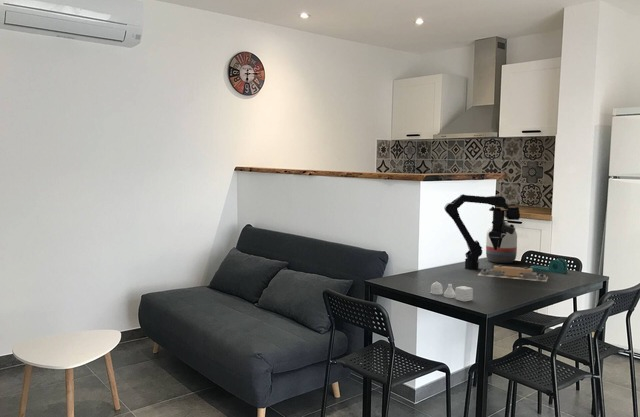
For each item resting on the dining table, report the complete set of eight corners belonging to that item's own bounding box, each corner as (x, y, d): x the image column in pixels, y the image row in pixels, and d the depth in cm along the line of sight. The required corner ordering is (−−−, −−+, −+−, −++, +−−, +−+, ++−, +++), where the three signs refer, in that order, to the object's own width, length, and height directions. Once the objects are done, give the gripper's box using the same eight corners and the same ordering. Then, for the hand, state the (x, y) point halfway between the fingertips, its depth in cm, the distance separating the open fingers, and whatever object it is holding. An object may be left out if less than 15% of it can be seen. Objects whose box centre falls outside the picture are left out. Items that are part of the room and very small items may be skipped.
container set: (472, 300, 218) (473, 287, 218) (464, 302, 215) (464, 289, 215) (436, 291, 235) (436, 279, 234) (428, 293, 232) (428, 280, 231)
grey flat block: (522, 278, 258) (522, 273, 258) (523, 275, 263) (524, 271, 263) (544, 280, 253) (544, 275, 253) (545, 277, 258) (545, 273, 258)
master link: (493, 274, 265) (493, 265, 264) (494, 272, 268) (494, 263, 268) (531, 277, 257) (531, 268, 257) (532, 276, 260) (532, 266, 260)
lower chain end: (480, 274, 267) (480, 269, 267) (482, 272, 272) (482, 267, 272) (501, 276, 262) (501, 271, 262) (502, 273, 268) (503, 269, 267)
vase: (499, 265, 297) (501, 223, 295) (479, 260, 312) (480, 220, 311) (522, 263, 304) (524, 222, 302) (501, 258, 319) (502, 219, 317)
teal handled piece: (567, 274, 273) (567, 259, 272) (561, 276, 268) (562, 260, 268) (533, 269, 286) (534, 255, 286) (527, 270, 282) (528, 256, 281)
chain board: (477, 277, 265) (477, 275, 265) (481, 272, 275) (481, 270, 275) (546, 283, 250) (546, 281, 250) (548, 278, 261) (548, 276, 261)
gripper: (511, 222, 266) (510, 252, 267) (517, 218, 282) (516, 247, 283) (488, 220, 271) (487, 250, 272) (495, 217, 287) (494, 246, 289)
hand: (497, 248), depth 279 cm, fingers open, 9 cm apart
